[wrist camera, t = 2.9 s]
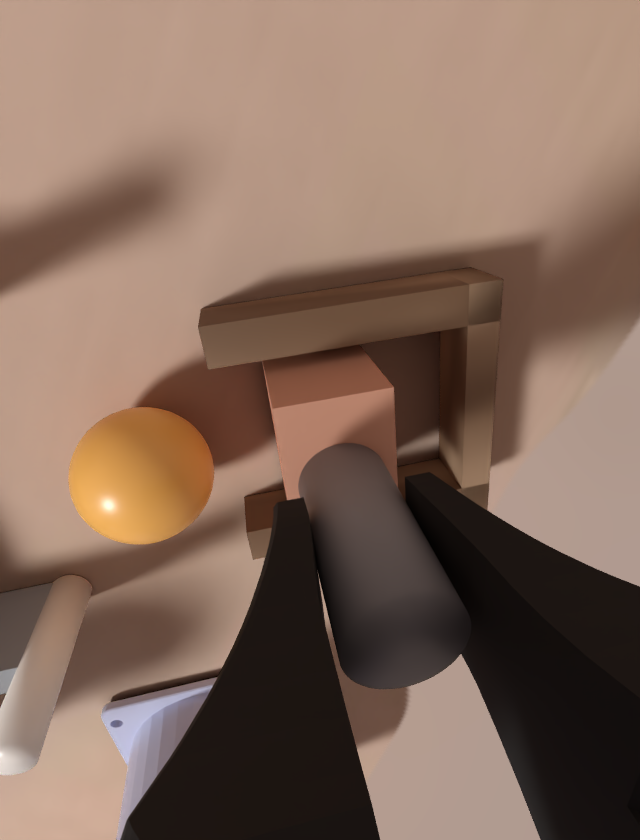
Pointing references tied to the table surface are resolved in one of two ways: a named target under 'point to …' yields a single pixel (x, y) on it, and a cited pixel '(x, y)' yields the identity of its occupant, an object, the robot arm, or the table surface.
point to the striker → (362, 519)
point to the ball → (141, 475)
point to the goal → (35, 663)
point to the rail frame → (370, 322)
